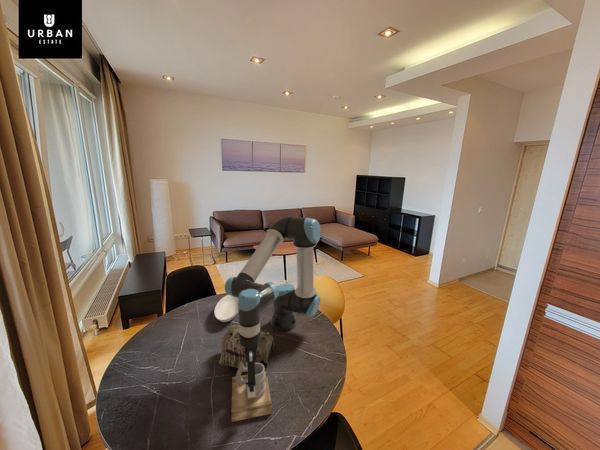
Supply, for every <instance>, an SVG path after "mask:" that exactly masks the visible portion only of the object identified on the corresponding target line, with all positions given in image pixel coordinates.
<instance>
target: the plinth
mask: <svg viewBox="0 0 600 450" xmlns="http://www.w3.org/2000/svg"><path fill="white" fill-rule="evenodd" d="M241 378H242V379H243V380H245V379H247V374H244V375H243V374H241ZM231 379H232V380H231V381H232V383H231V423H234V422H239V421H243V420H247V419H252V418H258V417H261V416H266V415H271V414H272V412H273V409H272V405H273V403H272V400H271V391H270V386H269V385H270V384H269V379H268V371H266V370H265V382H266V390H265V392H264V394H263V395H262V396H261V397H259V398H248V394H247V391H246V384H244V385H242V386H241V387H239V385H238V384H237V382H236V376H232V377H231Z"/></svg>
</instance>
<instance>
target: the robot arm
mask: <svg viewBox="0 0 600 450" xmlns="http://www.w3.org/2000/svg"><path fill="white" fill-rule="evenodd" d="M265 233H266V235H265V237H264V238H263V239H262V241H261V242H260V243H259V245H258V247H257V248H256V249H255V251H254V252H253V254H252V255H251V256H250V257H249V259H248V260H247V261H246V264H245V265H244V266H243V268H242V269H241V270H240V272H239V273H238V274H237V276H231V277H229V278H227V280H226V281H225V284H224V291H225V293H226V294H227V295H231V296H233V297H237V298H238V324H236V325H237V327H238V328H239V342H240V344H241V345H242V346H243V347H245V354H246V368H247V371H248V372H247V373H248V381H247V382H246V385H247V387H248V398H252V397H256V393H255V386H256V383H255V352H256V347H255V346H256V345H257V344H258V343H259V342H260V332H261V312H262V311H264V310H265V309H266V308H267V307H269V306H270V305H271V304H273V312H272V315H271V318H270V322H269V323H270V327H271V328H272V329H274V330H275V331H279V332H287V331H291V330H293V329H294V328H295V327H297V316H296V314H299V315H302V316H306V317H314V316H315V315H316V314H317V312H318V310H319V307H320V304H321V296H320V295H318V294H317V289H316V288H315V287H314V248H315V247H316V246H317V244H318V242H319V241H320V240H321V235H322V234H321V233H322V229H321V225H320V222H319V221H318V220H317V219H316V218H310V217H303V216H301V217H300V216H292V215H287V216H283V217H281V218H279V219H277V220H276V221H275V222H274V223H272V224H271V225H270V227H268V229H267V231H266V232H265ZM287 239H288V240H293V244H292V245H293V246H294V248H296V277H297V278H296V280H297V281H296V282H297V283H296V285H297V287H296V288H295V286H294V285H293V284H292V283H282V284H278V285H277V284H276V283H275V282H272V281H268V282H265V283H264V284H261V283H258V282H256V280H257V279H258V277H259V276H260V275H261V273H262V271H263V269H264V268H265V266H266V264H267V263H268V262H269V261H270V259H271V257H272V256H273V254H274V253H275V251H276V250H277V248H278V246H279V245H280V244H283V242H284V241H285V240H287ZM295 313H296V314H295ZM253 354H254V355H253Z"/></svg>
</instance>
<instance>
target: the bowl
mask: <svg viewBox="0 0 600 450" xmlns="http://www.w3.org/2000/svg"><path fill="white" fill-rule="evenodd" d="M238 314H239V312H238V298H237V297H233V296H231V295H229V294H227V295H225V296H223V297H222V298H221V299H219V301H218V302H217V304H216V305H215V308H214V314H213V315H214V317H215V318H216V319H217V320H218V321H220V322H221V323H222V322H223V323H225V322H226V323H227V322H230V321H232V320H233V319H234V318H235V317H236V316H237V315H238Z"/></svg>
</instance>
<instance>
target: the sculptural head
mask: <svg viewBox="0 0 600 450" xmlns="http://www.w3.org/2000/svg"><path fill="white" fill-rule="evenodd" d="M237 325H238V324H235V325H232V326H230V327H228V328H227V330H228V331H227V332H225V334H224V335H223V337H222V342H221V354H220V359H219V361H218V364H219V365H220V366H223V367H224V366H226V367H231V368H236V369H239V366H240V362H243V364H244V367H246V354H245V347H243V346H242V345H241V344H240V342H239V328H238V327H237ZM274 346H275V340H274V335H273V334H271V332H265V331H260V342H259V343H258V344H257V345H256V346H255V347H256V352H255V363H261V362H262V361H263V363H265V364H270V359H271V354H272V352H273V351H274V350H273V349H274ZM253 355H254V354H253Z"/></svg>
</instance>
